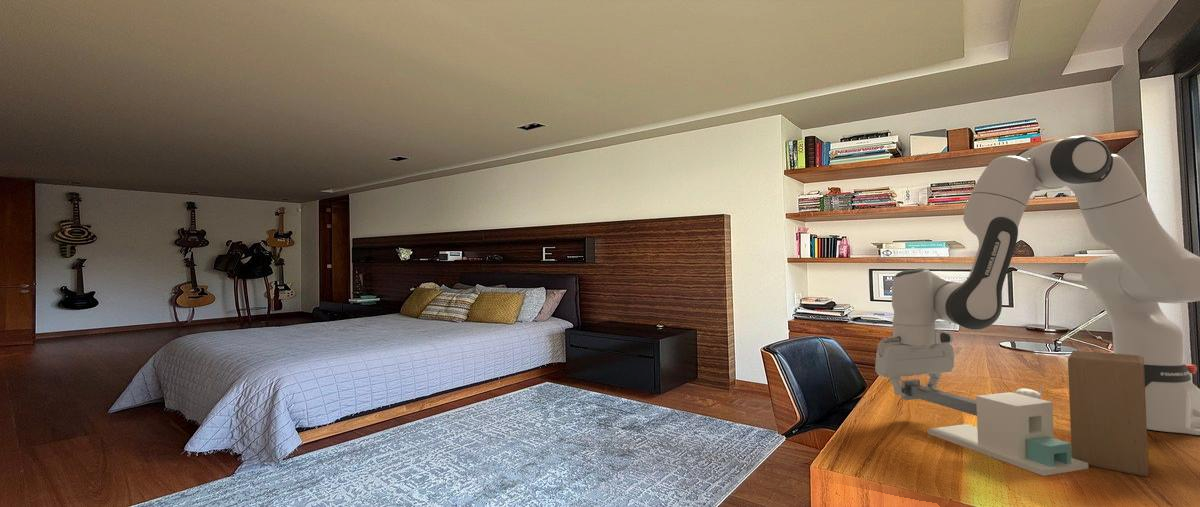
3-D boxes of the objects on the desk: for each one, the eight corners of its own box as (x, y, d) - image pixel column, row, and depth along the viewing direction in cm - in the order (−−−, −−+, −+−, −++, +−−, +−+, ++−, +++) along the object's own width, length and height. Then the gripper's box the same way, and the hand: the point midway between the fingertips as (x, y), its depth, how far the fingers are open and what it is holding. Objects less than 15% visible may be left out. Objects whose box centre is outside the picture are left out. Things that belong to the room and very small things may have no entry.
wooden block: (1147, 461, 97) (1143, 355, 98) (1148, 478, 90) (1144, 363, 91) (1075, 448, 104) (1071, 349, 105) (1071, 462, 98) (1067, 357, 98)
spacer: (1048, 455, 99) (1047, 436, 99) (1071, 463, 95) (1070, 443, 95) (1027, 458, 97) (1026, 439, 97) (1050, 466, 94) (1049, 446, 94)
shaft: (917, 397, 127) (916, 378, 127) (1022, 428, 103) (1021, 405, 103) (901, 399, 126) (901, 380, 126) (1004, 431, 102) (1003, 407, 102)
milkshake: (1051, 433, 114) (1049, 387, 114) (1023, 432, 115) (1022, 387, 115) (1038, 426, 118) (1036, 383, 118) (1011, 425, 119) (1010, 382, 119)
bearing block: (966, 428, 118) (964, 380, 118) (1088, 468, 95) (1086, 408, 95) (927, 433, 115) (925, 384, 116) (1043, 475, 92) (1040, 414, 92)
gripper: (888, 340, 119) (890, 399, 119) (958, 335, 124) (960, 392, 124) (867, 336, 126) (869, 393, 125) (935, 331, 131) (937, 386, 130)
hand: (915, 392), depth 125 cm, fingers open, 8 cm apart
